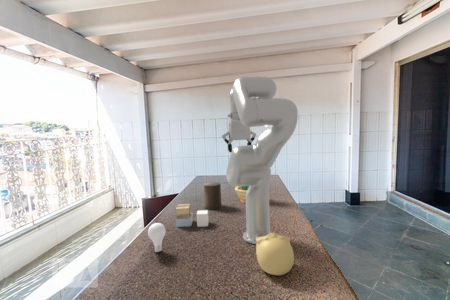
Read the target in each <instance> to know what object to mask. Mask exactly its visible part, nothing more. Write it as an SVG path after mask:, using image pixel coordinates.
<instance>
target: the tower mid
mask: <svg viewBox="0 0 450 300" xmlns="http://www.w3.org/2000/svg"><path fill="white" fill-rule="evenodd" d="M191 207H192V206H191V204H190V203H182V204H177V205H176V208H175V217H176V218H175V220H176V219H186V218H190V215H191V213H192V211H191V209H192V208H191Z"/></svg>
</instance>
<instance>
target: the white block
mask: <svg viewBox="0 0 450 300" xmlns="http://www.w3.org/2000/svg"><path fill="white" fill-rule="evenodd" d="M208 226H209V209H206V210H204V209H203V210H202V209H201V210H197V211H196V227H197V228H199V227H208Z"/></svg>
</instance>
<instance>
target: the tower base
mask: <svg viewBox="0 0 450 300" xmlns="http://www.w3.org/2000/svg"><path fill="white" fill-rule="evenodd" d="M193 218H194V215H193V212H191V215H190V218H186V219H176V218H175V227H176V228H183V227H184V228H185V227H191V226H192V225H193V221H194V219H193Z"/></svg>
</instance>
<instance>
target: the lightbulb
mask: <svg viewBox="0 0 450 300" xmlns="http://www.w3.org/2000/svg"><path fill="white" fill-rule="evenodd" d="M147 235H148V238H149V239H150V240H151V241H152V244H153V247H154V252H156V253H160V252H161V251H162V250H163V248H162V247H163V246H162V245H163V239H164V237H165V235H166V227H165V225H164V224H163V223H161V222H155V223H152V224H151V225H150V226H149V228H148V230H147Z"/></svg>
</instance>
